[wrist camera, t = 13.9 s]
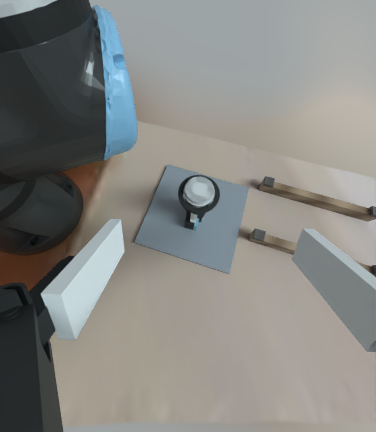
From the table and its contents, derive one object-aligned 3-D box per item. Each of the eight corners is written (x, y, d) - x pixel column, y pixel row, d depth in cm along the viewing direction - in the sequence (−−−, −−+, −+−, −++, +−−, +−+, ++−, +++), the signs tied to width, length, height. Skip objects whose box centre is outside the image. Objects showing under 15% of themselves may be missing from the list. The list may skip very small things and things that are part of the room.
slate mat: (134, 242, 30) (134, 242, 30) (167, 166, 36) (167, 164, 35) (228, 273, 29) (229, 273, 28) (247, 189, 34) (248, 187, 34)
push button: (186, 193, 33) (187, 157, 24) (214, 201, 33) (227, 167, 23) (175, 227, 31) (172, 202, 21) (205, 235, 30) (216, 214, 21)
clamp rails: (248, 241, 31) (253, 237, 28) (259, 183, 35) (265, 176, 32) (370, 279, 29) (387, 279, 27) (367, 214, 33) (382, 208, 31)
